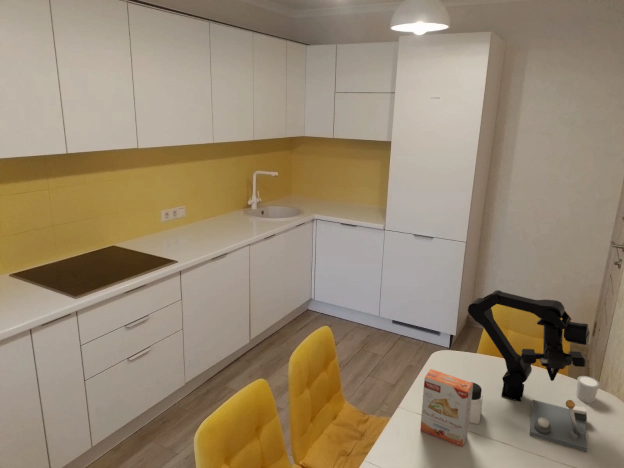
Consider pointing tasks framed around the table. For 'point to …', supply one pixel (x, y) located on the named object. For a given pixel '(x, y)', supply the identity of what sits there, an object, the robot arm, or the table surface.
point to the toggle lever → (572, 414)
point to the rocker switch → (579, 410)
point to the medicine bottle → (476, 404)
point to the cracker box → (446, 407)
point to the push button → (543, 422)
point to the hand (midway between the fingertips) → (551, 380)
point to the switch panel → (558, 425)
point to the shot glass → (586, 388)
